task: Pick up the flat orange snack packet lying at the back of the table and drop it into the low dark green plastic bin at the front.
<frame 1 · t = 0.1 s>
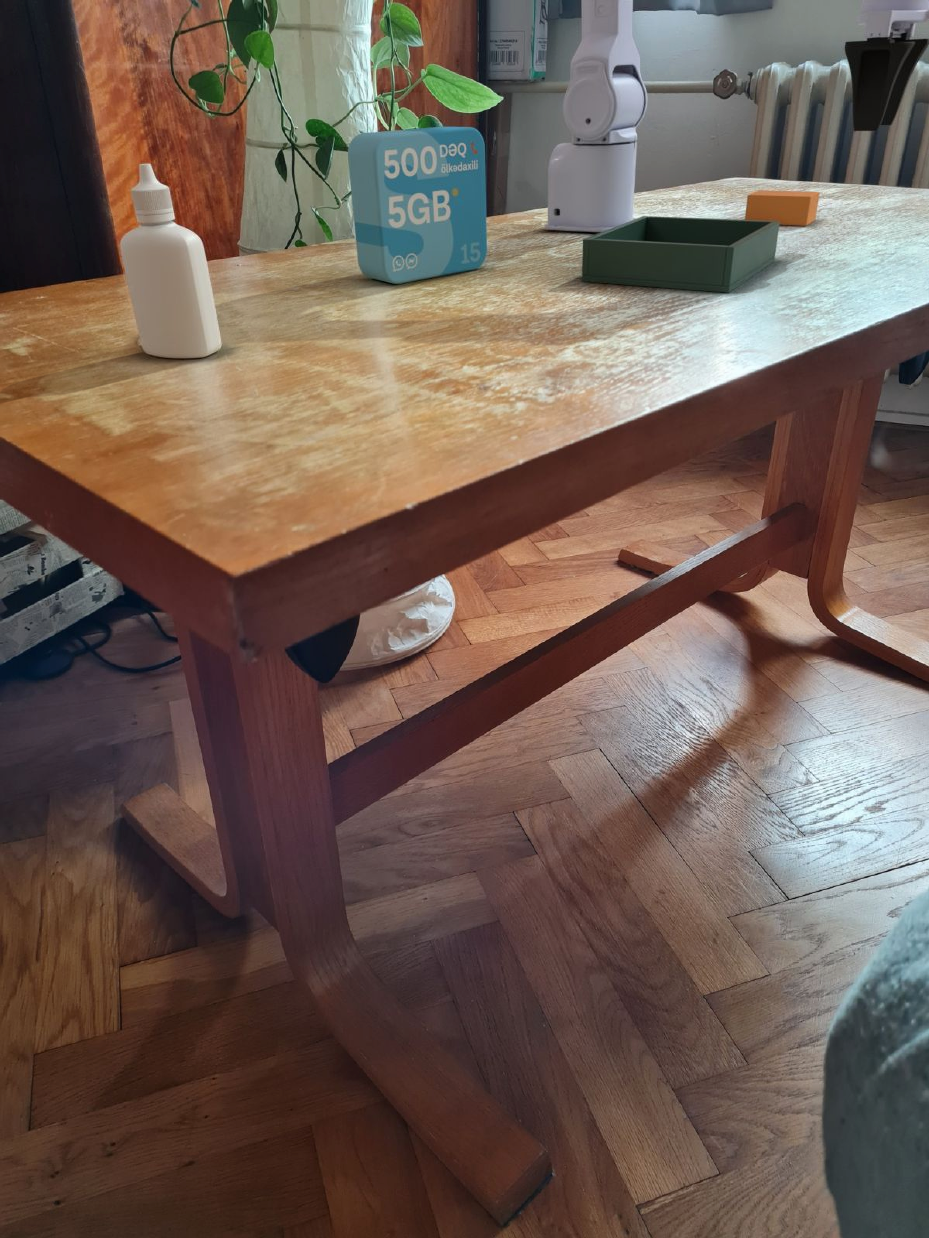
hand: (873, 128, 86), 10 cm above the table, tool pointing down, fingers open, 7 cm apart
data package: (424, 276, 84), on the table
bin: (680, 271, 81), on the table
eye dropper bottle: (183, 355, 63), on the table
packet: (779, 222, 103), on the table
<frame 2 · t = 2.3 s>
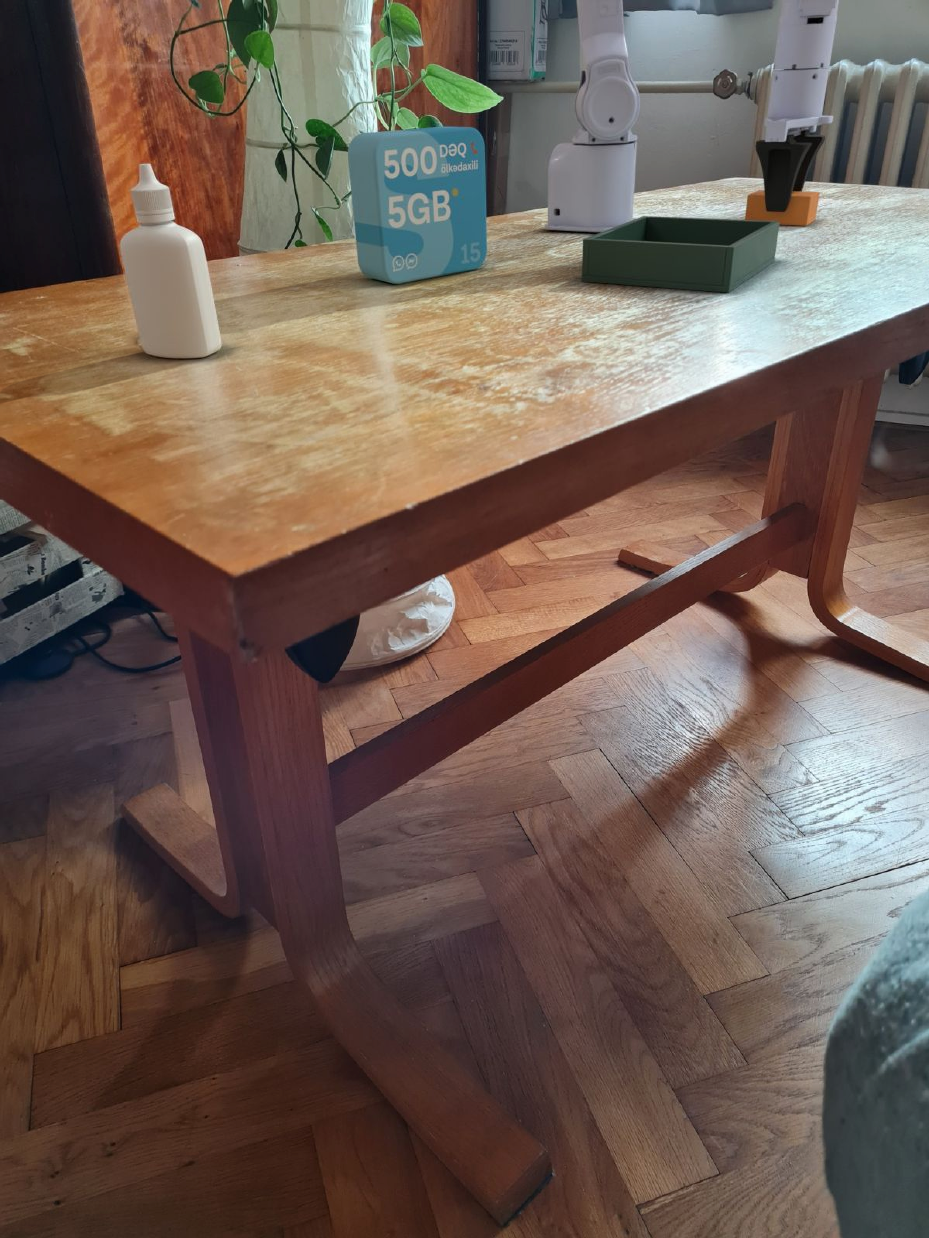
hand: (781, 208, 102), 1 cm above the table, tool pointing down, fingers closed on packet, 4 cm apart
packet: (779, 222, 103), on the table, touching gripper
everything else where it was.
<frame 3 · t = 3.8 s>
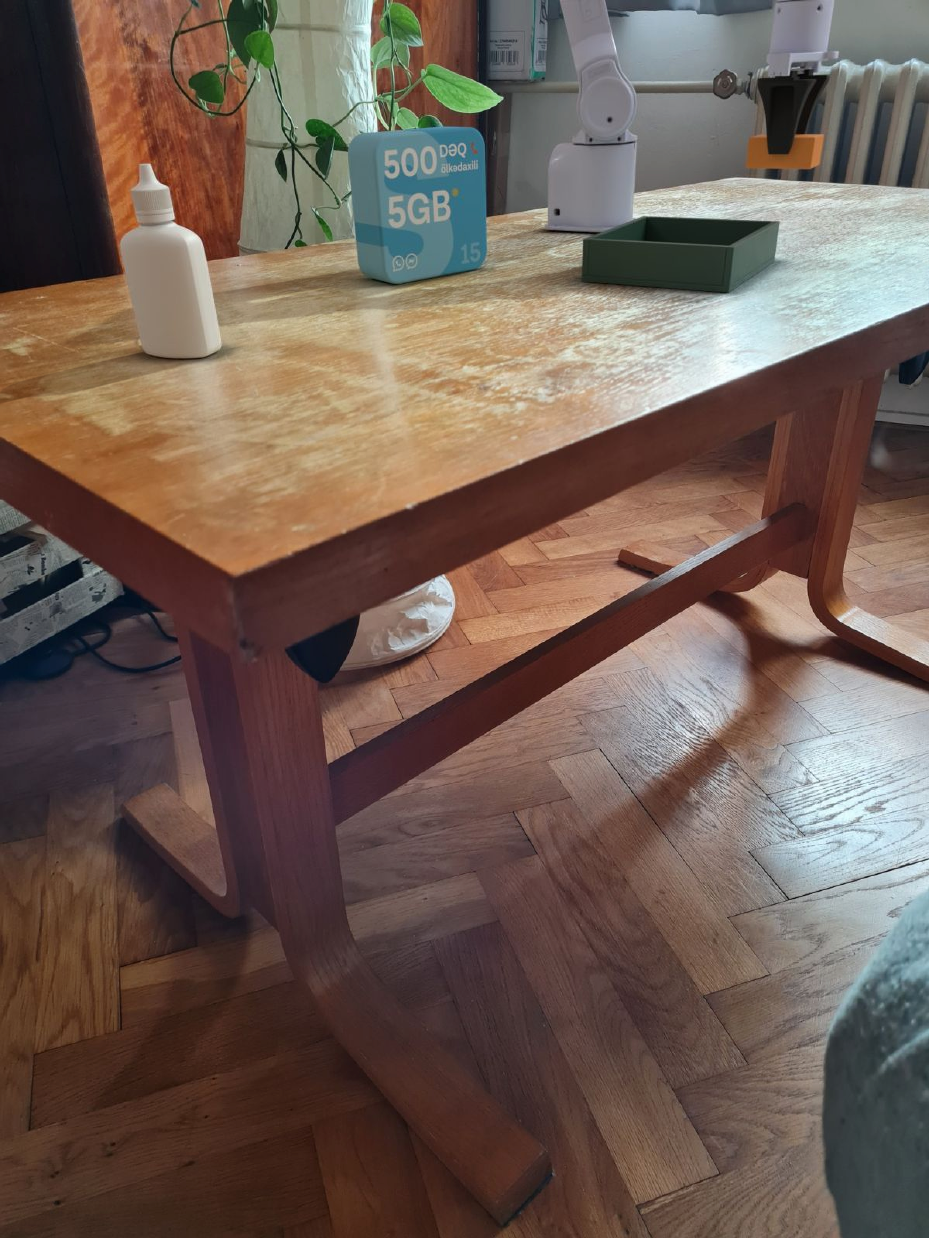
hand: (784, 152, 97), 7 cm above the table, tool pointing down, fingers closed on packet, 4 cm apart
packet: (782, 166, 98), point 6 cm above the table, touching gripper
everything else where it was.
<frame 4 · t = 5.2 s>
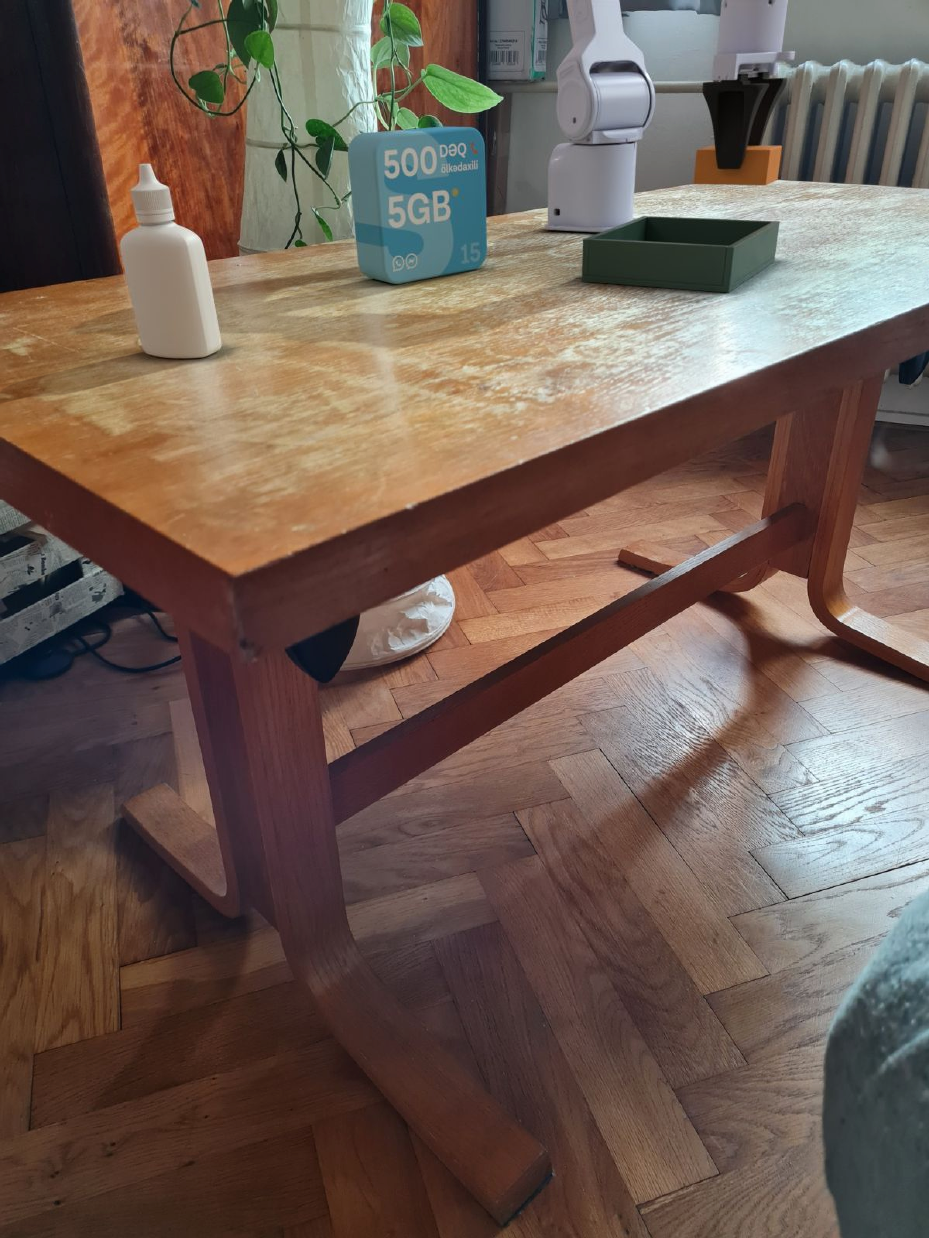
hand: (736, 166, 86), 7 cm above the table, tool pointing down, fingers closed on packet, 4 cm apart
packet: (735, 182, 86), point 6 cm above the table, touching gripper
everything else where it was.
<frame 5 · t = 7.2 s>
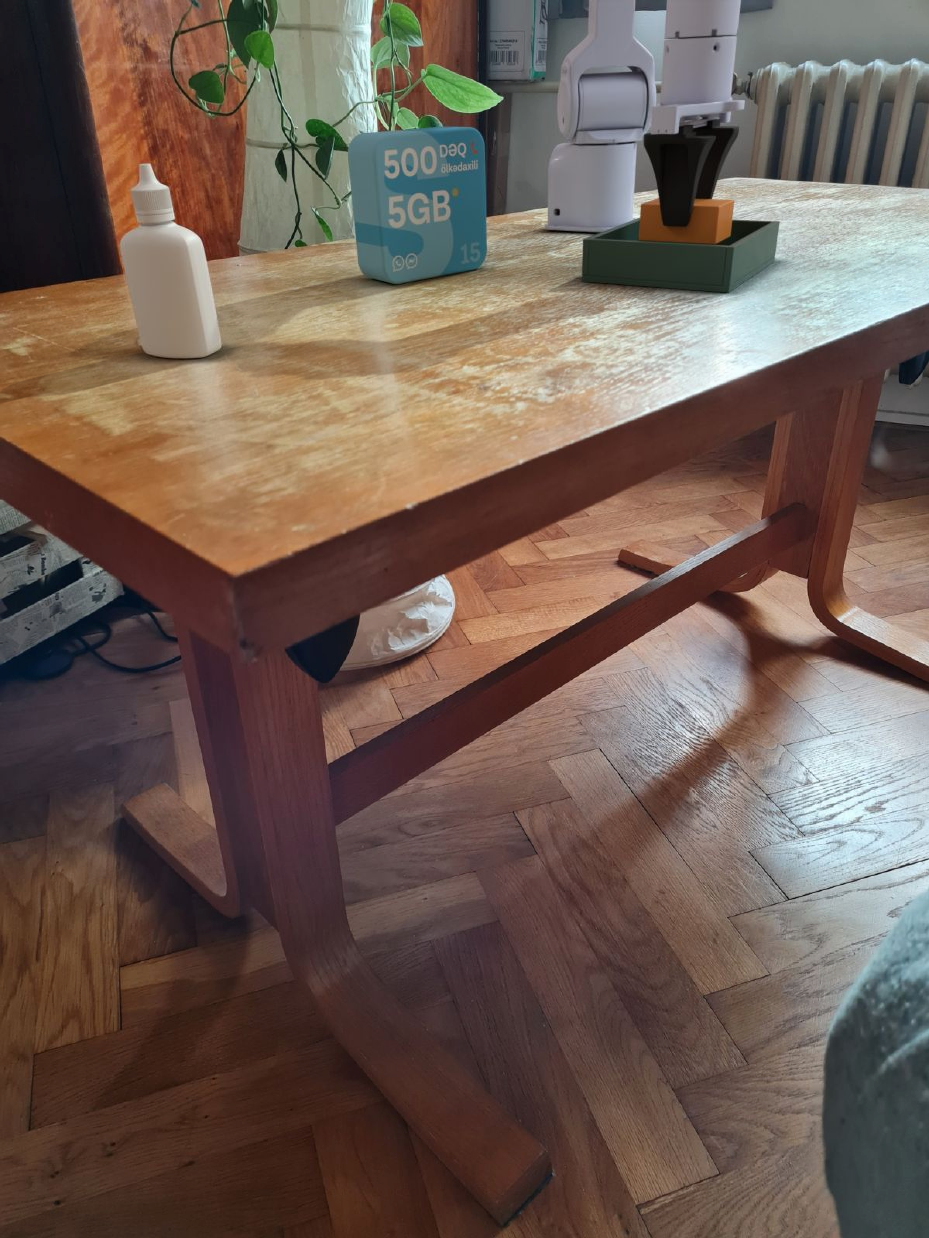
hand: (684, 221, 79), 4 cm above the table, tool pointing down, fingers closed on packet, 4 cm apart
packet: (684, 238, 79), point 3 cm above the table, touching gripper
everything else where it was.
when the fingers open (2 cm above the table, at t = 8.4 s): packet stays where it is, resting on bin.
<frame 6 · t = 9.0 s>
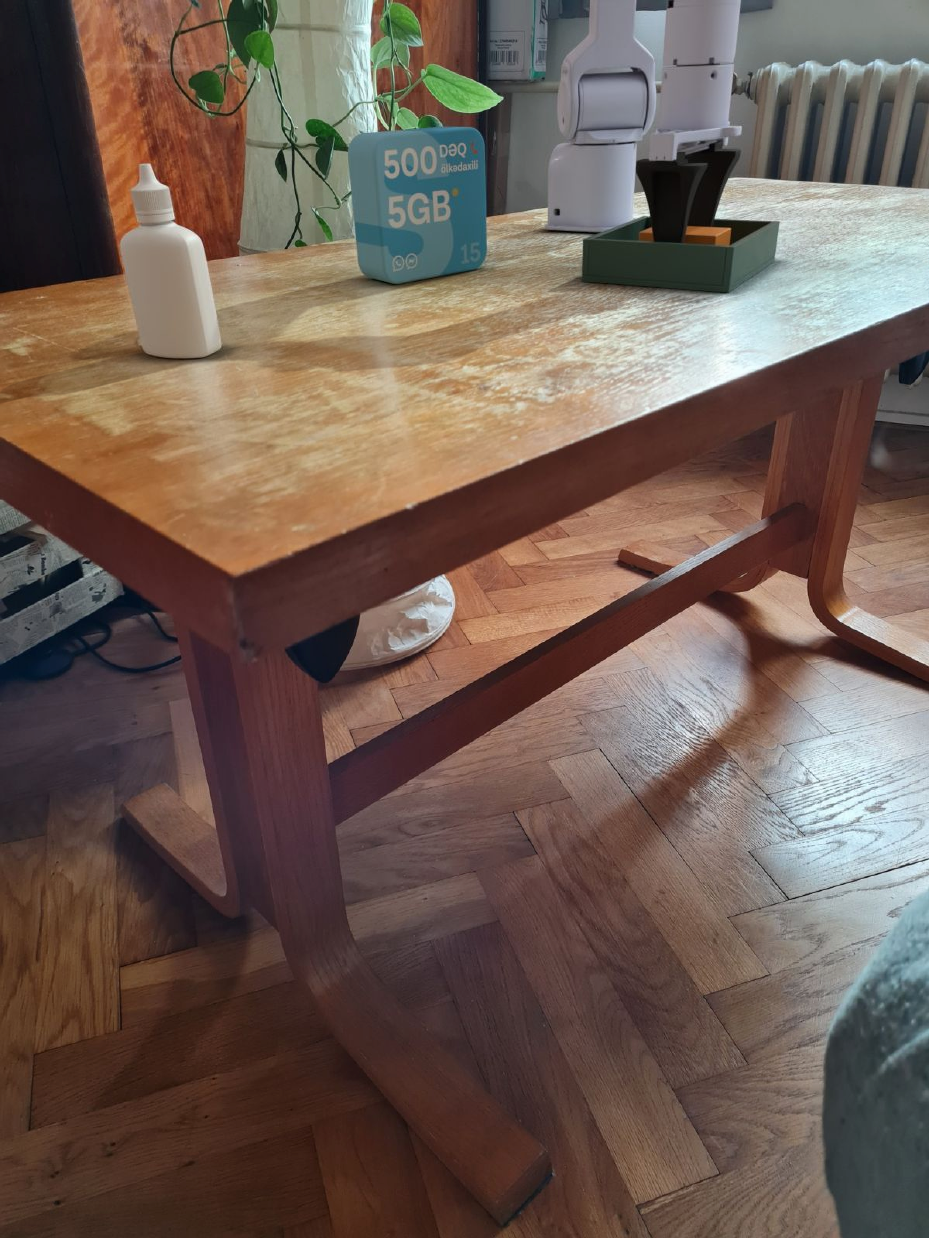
hand: (682, 244, 80), 2 cm above the table, tool pointing down, fingers open, 7 cm apart
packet: (682, 265, 80), resting on bin
everything else where it was.
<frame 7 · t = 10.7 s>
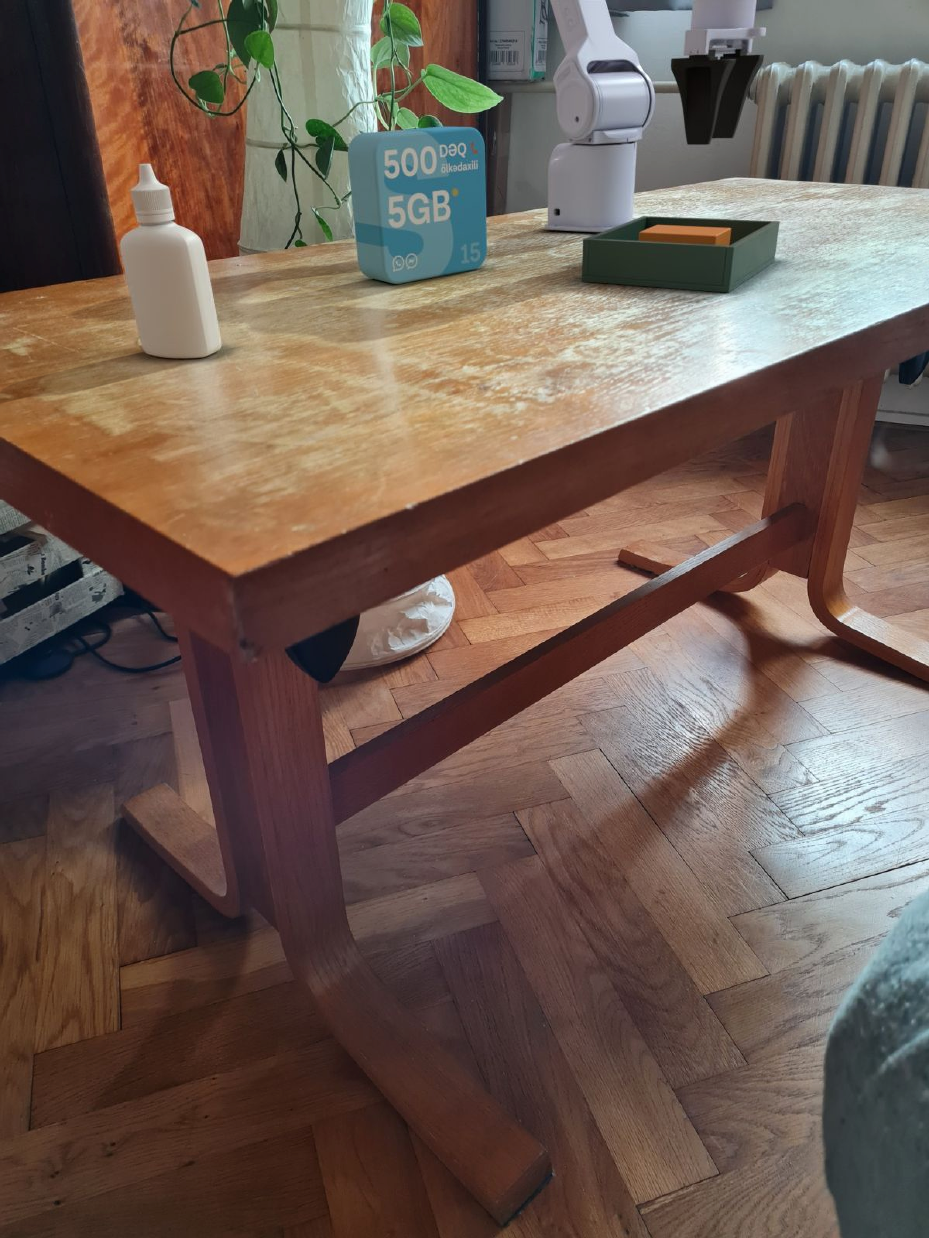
hand: (710, 141, 88), 9 cm above the table, tool pointing down, fingers open, 7 cm apart
nothing on the table moved.
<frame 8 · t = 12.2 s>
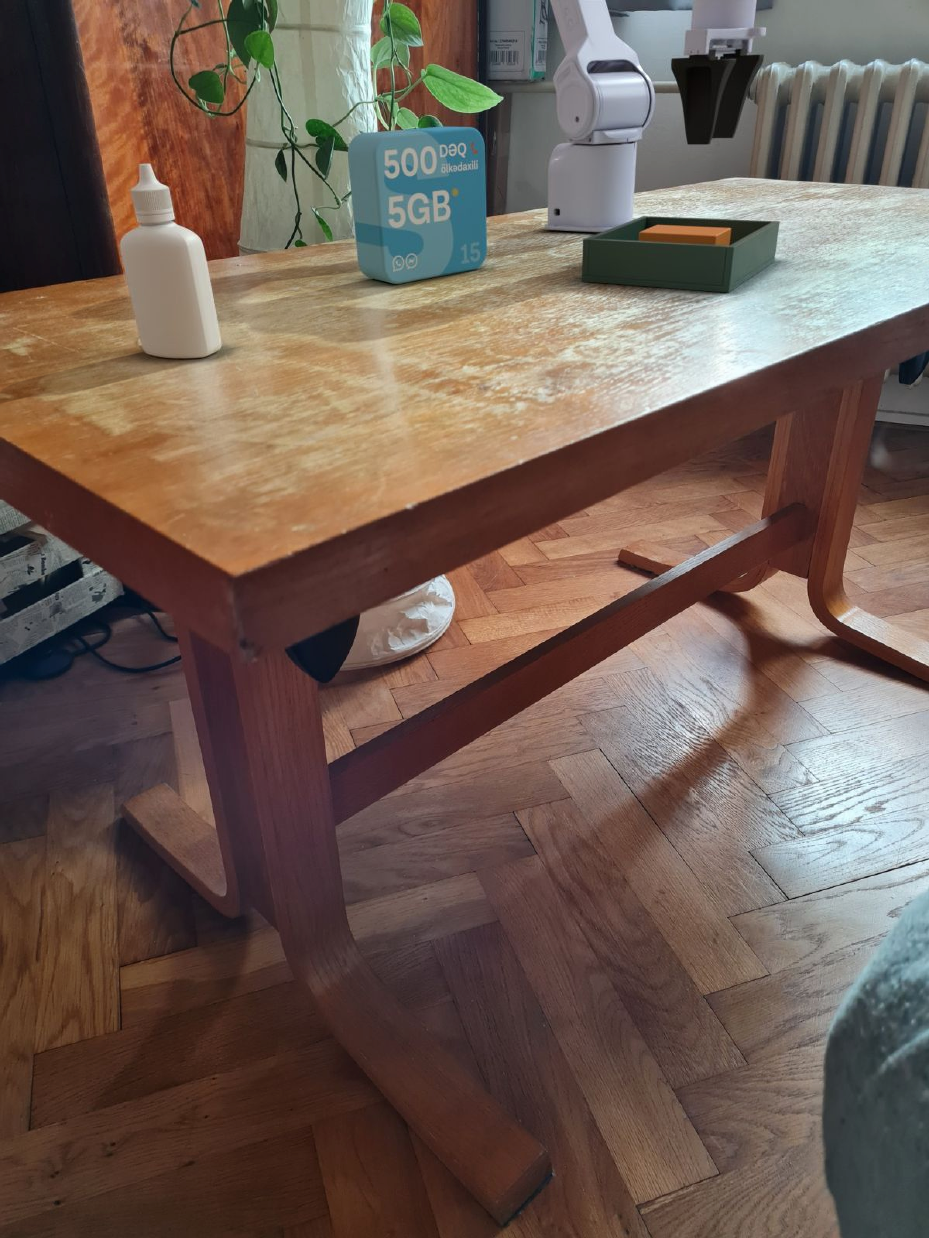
hand: (711, 141, 88), 9 cm above the table, tool pointing down, fingers open, 7 cm apart
nothing on the table moved.
at the end: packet inside the target area in the bin (0.1 cm from its centre), point 0.5 cm above the bin's base; the gripper is holding nothing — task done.
